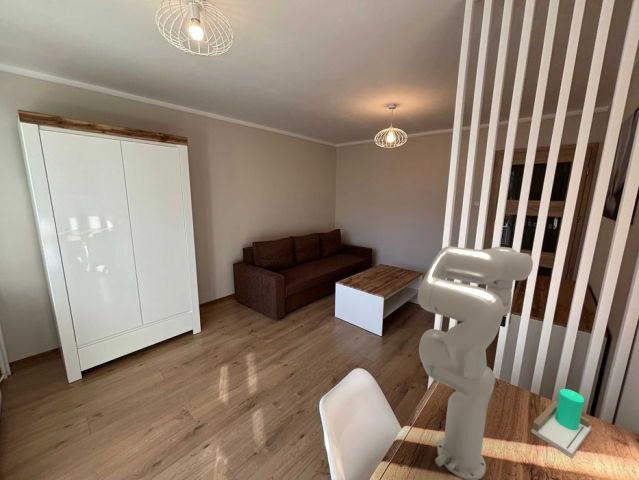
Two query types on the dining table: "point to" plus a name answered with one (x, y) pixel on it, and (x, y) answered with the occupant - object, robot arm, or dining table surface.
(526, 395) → the dining table surface
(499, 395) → the dining table surface
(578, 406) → the candle
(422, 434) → the dining table surface
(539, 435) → the jig board
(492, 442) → the dining table surface
